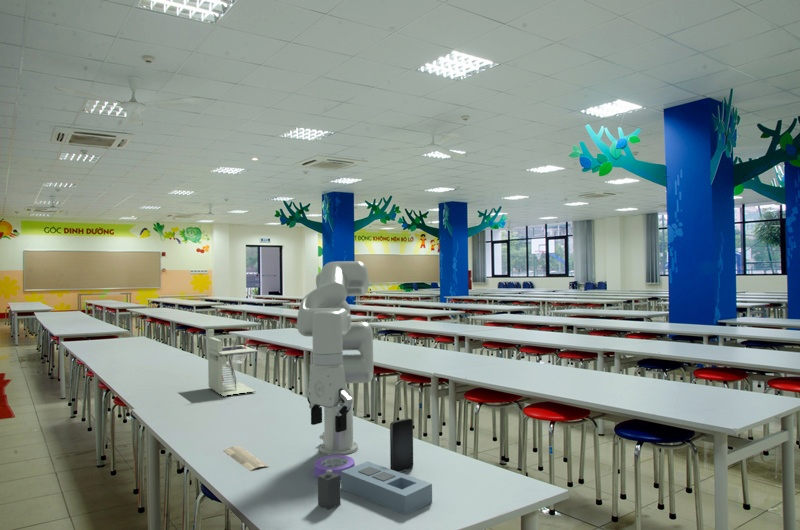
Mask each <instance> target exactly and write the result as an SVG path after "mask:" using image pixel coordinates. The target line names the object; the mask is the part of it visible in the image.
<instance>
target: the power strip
mask: <svg viewBox="0 0 800 530" xmlns="http://www.w3.org/2000/svg"><path fill="white" fill-rule="evenodd" d="M340 489H343V490H345V491H347V492H350V493H351V494H355V495H357V496H359V497H362V498H364V499H366V500H369V501H371V502H373V503H376V504H378V505H381V506H383V507H386V508H388V509H391V510H393V511H395V512H397V513H400V514H403V515H404V516H405V515H409V514H410V513H412V512H415V511H416V510H419V509H420V508H422V507H425V506H427V505H429V504H431V503H433V483H431V482H429V481H426V480H424V479H423V480H422V479H419V478H416V477H414V476H411V475H408V474H405V473H403V472H397V471H394V470H391V469H390V468H388V467H386V466H385V467H384V466H382V465H379V464H377V463H373V462H371V461H365V462H363V463H360V464H357V465H355V466H354V467H351V468H349V469H346V470H343V471H341V480H340Z"/></svg>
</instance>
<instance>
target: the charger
mask: <svg viewBox="0 0 800 530" xmlns="http://www.w3.org/2000/svg"><path fill="white" fill-rule="evenodd" d="M317 505H318V506H319V507H321V508H323V509H326V510H328V511H329V510H331V509H334V508H336V507H339V506H341V480H340V475H338V474H336V473H333V472H332V470H326V473H324V474H321V475H319V476H318V478H317Z"/></svg>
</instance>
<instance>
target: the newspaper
mask: <svg viewBox="0 0 800 530" xmlns="http://www.w3.org/2000/svg"><path fill="white" fill-rule="evenodd" d="M223 452H224V453H225V454H227V455H228V456H229V457H231V458H232V460H234V461H236V462H237V463H238V464H240V465H241V466H242V467H244V468H245V469H247V470H248V471H249V472H252V471H253V470H255V469H258V468H263V467H264V468H269V466H268V465H267V464H266V463H264V462H263V461H262V460H260V459H258V458H257V456H254V455H253V454H252V453H250V451H247V450H246V449H245V448H244V447H242V446H237V445H236V446H235V445H234V446H230V447H227V448H225V449H223Z"/></svg>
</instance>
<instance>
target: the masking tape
mask: <svg viewBox="0 0 800 530" xmlns="http://www.w3.org/2000/svg"><path fill="white" fill-rule="evenodd" d="M354 466H356V465H355V459H354V458H353V457H351V456H348V455H327V456H324V457H321V458H319V459H317V460H316V461H315V462H314V476H315V477H316V478H317V479H318V476H319V475H321V474H324V473H326V470H332V472H333V473H336V474H338V475H340V481H341V471H343V470H346V469H349V468H351V467H354Z"/></svg>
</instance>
